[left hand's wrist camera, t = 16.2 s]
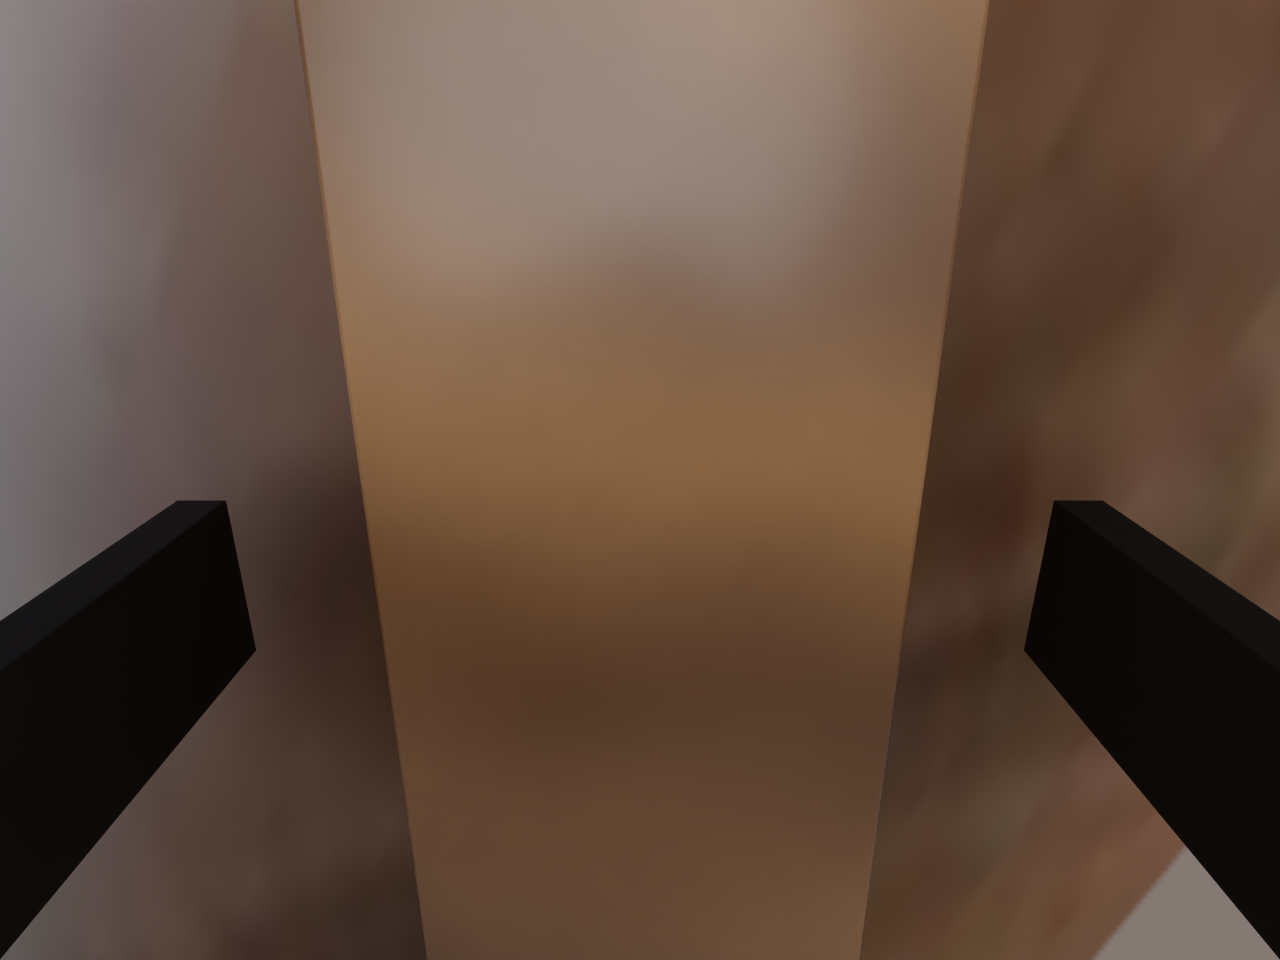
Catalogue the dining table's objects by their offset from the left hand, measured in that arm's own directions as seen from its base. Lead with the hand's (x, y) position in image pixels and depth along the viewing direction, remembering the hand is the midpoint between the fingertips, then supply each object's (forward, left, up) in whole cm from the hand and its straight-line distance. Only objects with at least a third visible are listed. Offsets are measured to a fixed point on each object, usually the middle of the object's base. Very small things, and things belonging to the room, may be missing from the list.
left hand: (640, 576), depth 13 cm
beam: (-3, +25, -4) cm, 26 cm away
